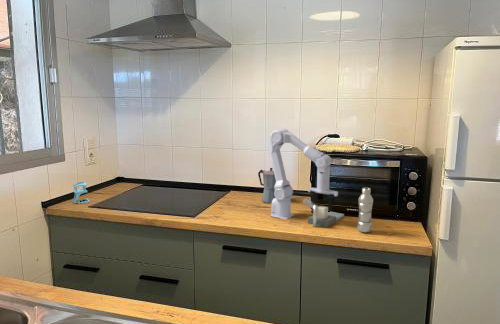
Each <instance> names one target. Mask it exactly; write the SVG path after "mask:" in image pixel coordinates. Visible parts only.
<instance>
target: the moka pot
mask: <svg viewBox="0 0 500 324" xmlns="http://www.w3.org/2000/svg"><path fill="white" fill-rule="evenodd" d="M261 174H262V177H261ZM257 175H258V179H259V182H260V186H263V187H264V189H263V193H262V199H261V201H262V202H263V203H265V204H272V200H273V199H274V198H275V195H274V192H275V188H274V186H275V184H276V179H275V175H274V170H273V167H270V168H269V170H263V169H260V170H259V172H258V173H257ZM262 178H263V181H262Z"/></svg>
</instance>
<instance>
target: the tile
mask: <svg viewBox="0 0 500 324" xmlns="http://www.w3.org/2000/svg"><path fill="white" fill-rule="evenodd" d="M328 215H331V216H336V222H338V221H339V220H341V219H342V218H344V217H345V213H340V212H335V211H330V212H328Z"/></svg>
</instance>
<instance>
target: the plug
mask: <svg viewBox="0 0 500 324" xmlns="http://www.w3.org/2000/svg"><path fill="white" fill-rule="evenodd" d="M328 211H329V210H328V206H325V205H318V218H319V219H323V220H325V219H327V218H328Z"/></svg>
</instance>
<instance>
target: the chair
mask: <svg viewBox="0 0 500 324" xmlns="http://www.w3.org/2000/svg"><path fill="white" fill-rule="evenodd" d="M72 186H73V188H74V189H72V190H73V193H74V195H73V196H74V197H73V201H72V203H73V202H74V203H82V204H88V203H87V202H90V203H91V201H90V200H89V198H83V199H79V197H80V196H81V195H82V194H85V193H88V190H87V189H86V188H87V183H86V182H85V181H79V182H77V183H75V184H72ZM79 187H82V188H81V189H78V188H79ZM83 200H85V201H83ZM78 201H81V202H78ZM74 203H73V204H74Z"/></svg>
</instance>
